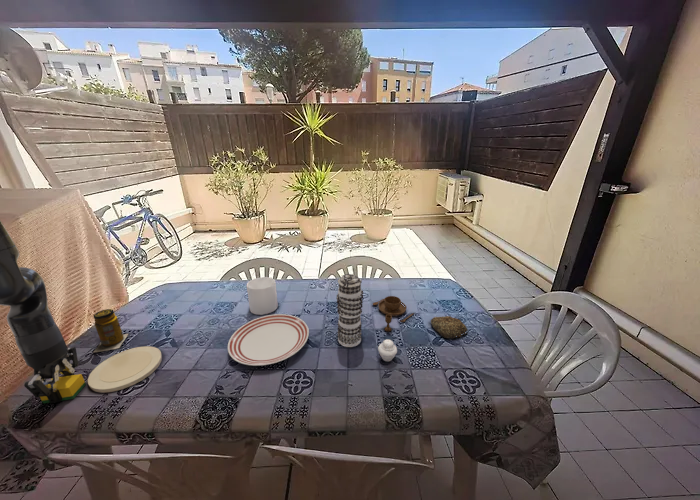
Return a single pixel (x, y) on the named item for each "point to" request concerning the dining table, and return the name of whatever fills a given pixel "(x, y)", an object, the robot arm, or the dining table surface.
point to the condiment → (108, 330)
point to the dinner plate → (268, 339)
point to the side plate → (124, 369)
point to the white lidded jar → (387, 350)
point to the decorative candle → (349, 310)
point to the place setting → (391, 309)
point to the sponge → (68, 387)
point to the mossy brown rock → (448, 326)
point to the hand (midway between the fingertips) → (64, 392)
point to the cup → (262, 295)
